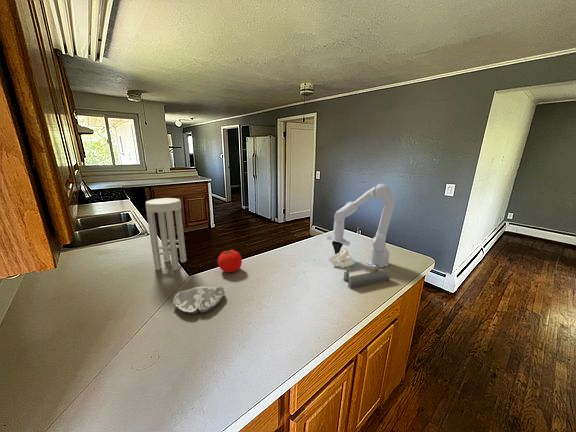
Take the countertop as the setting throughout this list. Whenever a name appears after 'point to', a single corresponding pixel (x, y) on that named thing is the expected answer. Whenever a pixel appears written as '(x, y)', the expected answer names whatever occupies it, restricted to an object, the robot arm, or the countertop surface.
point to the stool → (168, 207)
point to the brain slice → (198, 299)
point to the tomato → (229, 261)
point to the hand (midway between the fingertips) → (336, 253)
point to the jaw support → (342, 259)
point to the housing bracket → (366, 277)
